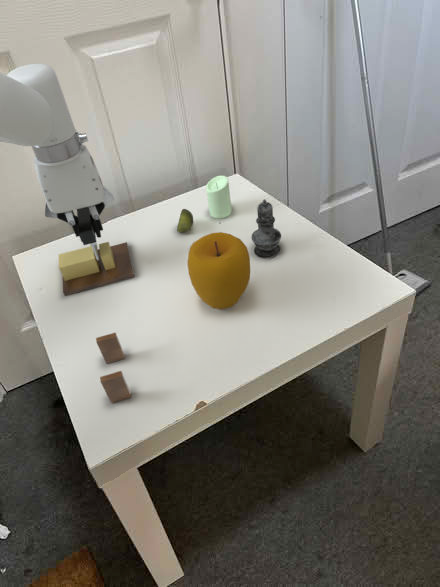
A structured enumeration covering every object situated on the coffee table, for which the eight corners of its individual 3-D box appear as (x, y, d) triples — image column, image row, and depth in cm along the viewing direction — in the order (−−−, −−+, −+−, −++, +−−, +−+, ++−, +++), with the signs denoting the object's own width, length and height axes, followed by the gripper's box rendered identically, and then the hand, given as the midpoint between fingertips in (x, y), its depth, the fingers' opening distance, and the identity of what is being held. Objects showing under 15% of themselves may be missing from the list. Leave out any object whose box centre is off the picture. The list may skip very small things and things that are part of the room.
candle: (216, 221, 102) (211, 189, 96) (206, 211, 105) (201, 179, 100) (235, 213, 103) (232, 181, 98) (225, 203, 107) (221, 172, 101)
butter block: (65, 281, 91) (58, 267, 89) (64, 267, 94) (58, 254, 92) (99, 272, 92) (94, 258, 90) (97, 258, 95) (92, 245, 93)
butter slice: (105, 270, 92) (100, 257, 90) (103, 257, 95) (98, 244, 93) (115, 267, 93) (110, 254, 90) (113, 254, 96) (108, 241, 93)
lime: (180, 238, 99) (176, 219, 95) (172, 227, 102) (167, 208, 99) (198, 231, 100) (195, 212, 96) (190, 220, 103) (186, 201, 100)
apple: (265, 303, 82) (261, 247, 73) (211, 329, 79) (201, 273, 70) (234, 270, 89) (228, 215, 80) (185, 292, 86) (172, 238, 77)
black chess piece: (247, 247, 94) (243, 197, 86) (272, 237, 95) (270, 187, 87) (261, 263, 90) (257, 211, 82) (287, 252, 91) (286, 201, 83)
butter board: (64, 295, 90) (62, 292, 89) (63, 262, 97) (61, 258, 97) (134, 277, 91) (133, 273, 91) (127, 245, 99) (126, 242, 98)
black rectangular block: (92, 267, 88) (78, 233, 82) (89, 238, 95) (76, 204, 89) (105, 264, 88) (92, 229, 82) (100, 235, 95) (88, 201, 89)
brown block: (111, 403, 70) (100, 382, 66) (105, 359, 77) (95, 337, 73) (131, 397, 71) (122, 375, 67) (124, 354, 77) (115, 332, 73)
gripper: (102, 127, 80) (129, 215, 92) (9, 148, 78) (49, 235, 91) (106, 145, 74) (134, 236, 87) (6, 168, 72) (49, 257, 85)
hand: (90, 235), depth 89 cm, fingers closed on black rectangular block, 2 cm apart
